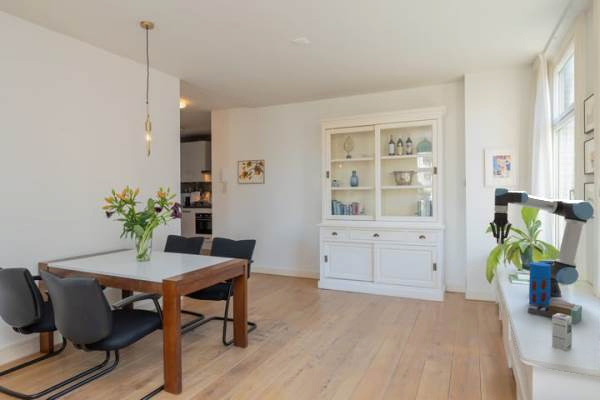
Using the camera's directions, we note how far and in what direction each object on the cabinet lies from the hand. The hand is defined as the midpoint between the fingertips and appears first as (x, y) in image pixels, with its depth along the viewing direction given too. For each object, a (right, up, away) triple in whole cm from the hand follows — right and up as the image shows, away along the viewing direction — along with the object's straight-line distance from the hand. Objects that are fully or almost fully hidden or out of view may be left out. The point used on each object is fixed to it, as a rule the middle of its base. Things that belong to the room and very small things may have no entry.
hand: (500, 248), depth 235 cm
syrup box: (-11, -35, -71) cm, 80 cm away
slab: (+16, -31, -33) cm, 48 cm away
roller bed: (+13, -33, -29) cm, 46 cm away
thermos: (+19, -33, -10) cm, 39 cm away
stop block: (+21, -34, -37) cm, 54 cm away
